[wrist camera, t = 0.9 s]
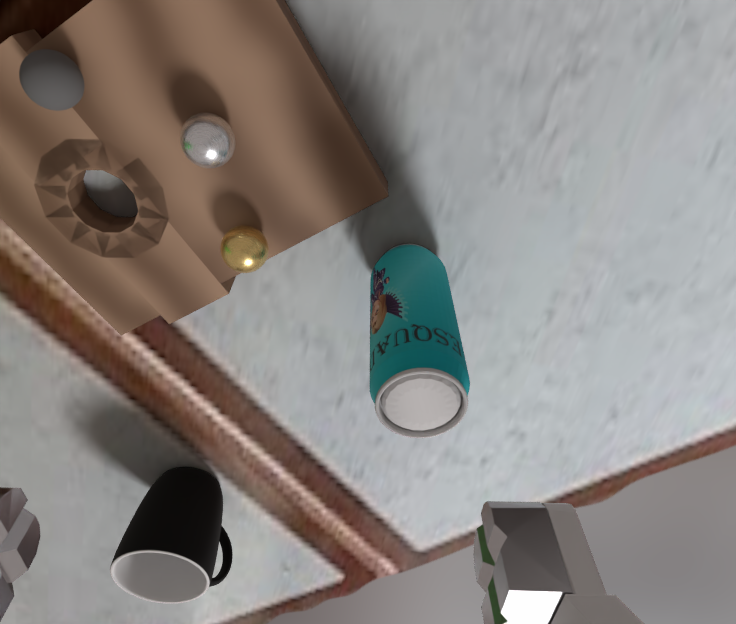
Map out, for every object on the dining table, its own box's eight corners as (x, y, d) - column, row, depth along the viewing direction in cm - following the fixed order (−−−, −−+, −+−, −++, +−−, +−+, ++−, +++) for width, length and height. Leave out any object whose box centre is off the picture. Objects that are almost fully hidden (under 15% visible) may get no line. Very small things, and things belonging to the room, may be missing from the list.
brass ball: (254, 209, 37) (245, 230, 34) (280, 246, 39) (274, 269, 36) (216, 230, 38) (205, 252, 35) (244, 265, 40) (235, 289, 37)
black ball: (64, 33, 31) (35, 42, 28) (105, 85, 33) (81, 98, 30) (25, 63, 32) (-7, 75, 29) (67, 112, 33) (41, 127, 31)
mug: (129, 478, 57) (88, 571, 49) (190, 445, 54) (156, 538, 46) (210, 534, 63) (185, 626, 55) (269, 507, 60) (252, 600, 52)
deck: (218, -117, 29) (206, -120, 27) (394, 193, 39) (395, 208, 37) (-71, 111, 36) (-98, 122, 34) (141, 325, 46) (130, 344, 44)
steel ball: (218, 96, 33) (205, 110, 30) (250, 142, 34) (240, 160, 32) (177, 122, 34) (160, 138, 31) (210, 166, 35) (197, 185, 33)
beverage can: (386, 225, 40) (392, 354, 28) (457, 250, 41) (492, 384, 29) (360, 287, 43) (354, 427, 31) (426, 308, 45) (446, 452, 32)
